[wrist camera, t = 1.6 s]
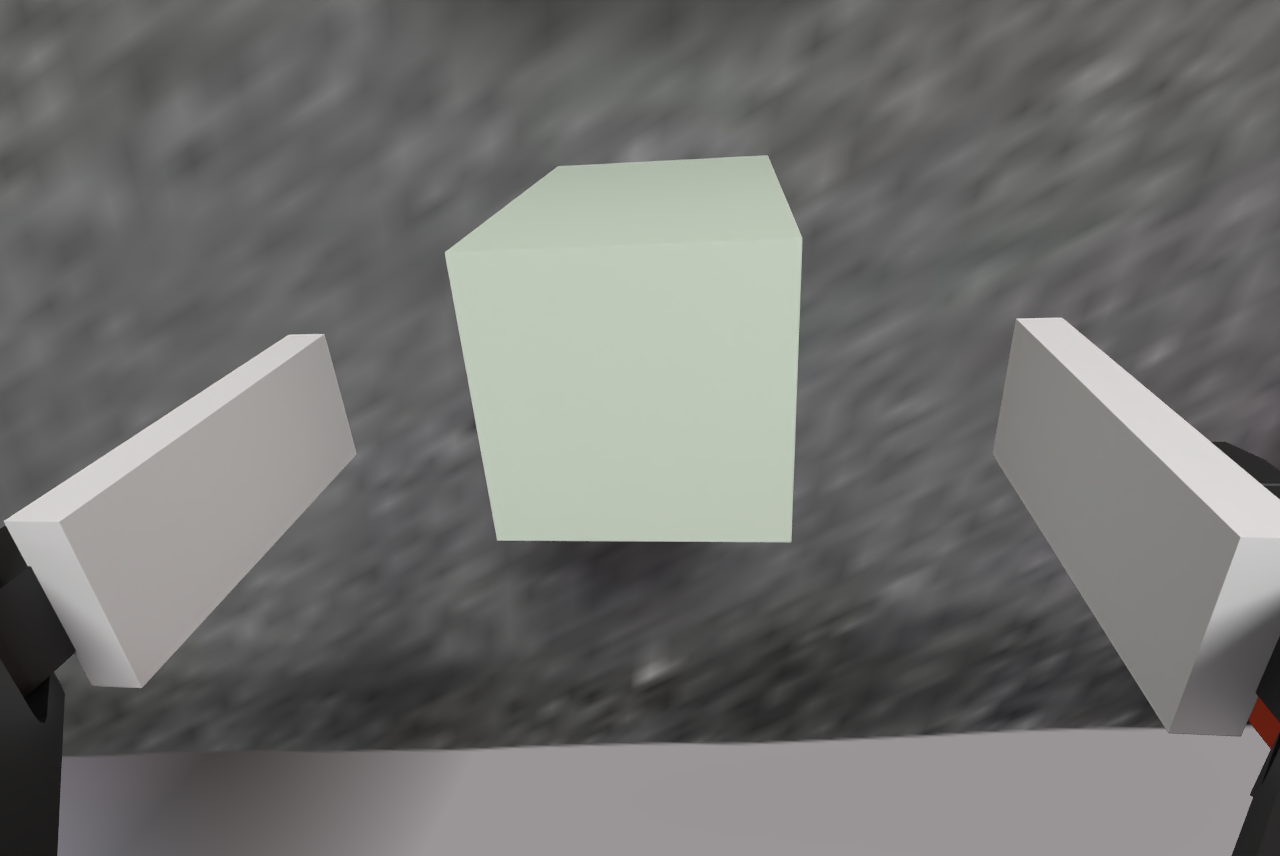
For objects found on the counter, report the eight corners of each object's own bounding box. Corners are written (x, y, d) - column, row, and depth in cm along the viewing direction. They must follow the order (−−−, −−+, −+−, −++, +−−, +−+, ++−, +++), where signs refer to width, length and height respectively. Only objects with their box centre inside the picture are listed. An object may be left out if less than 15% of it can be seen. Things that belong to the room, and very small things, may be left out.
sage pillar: (578, 359, 24) (497, 540, 15) (557, 166, 22) (444, 252, 13) (764, 354, 24) (791, 542, 15) (767, 155, 21) (802, 238, 12)
